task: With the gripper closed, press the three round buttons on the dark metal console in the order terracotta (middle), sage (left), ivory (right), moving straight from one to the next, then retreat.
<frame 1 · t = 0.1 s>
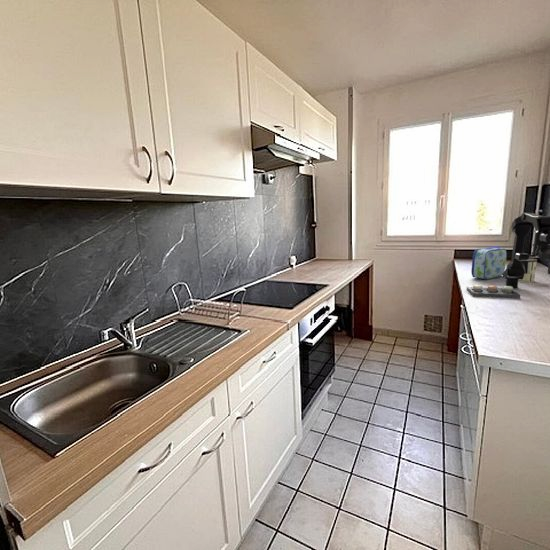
hand: (537, 274, 152), 15 cm above the worktop, fingers open, 9 cm apart
button terracotta: (492, 289, 168), point 4 cm above the worktop, slide at 0.0 cm
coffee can: (523, 281, 199), on the worktop
button ivory: (477, 288, 170), point 4 cm above the worktop, slide at 0.0 cm
console: (491, 295, 169), on the worktop
lunch box: (487, 277, 212), on the worktop
button sage: (507, 289, 166), point 4 cm above the worktop, slide at 0.0 cm
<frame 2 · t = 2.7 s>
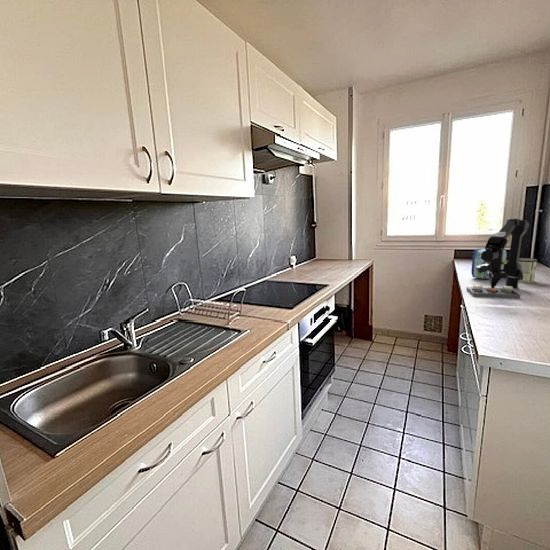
hand: (492, 287, 168), 5 cm above the worktop, fingers closed, pressing on button terracotta
button terracotta: (492, 290, 168), point 3 cm above the worktop, slide at 0.8 cm, touching gripper
everything else where it was.
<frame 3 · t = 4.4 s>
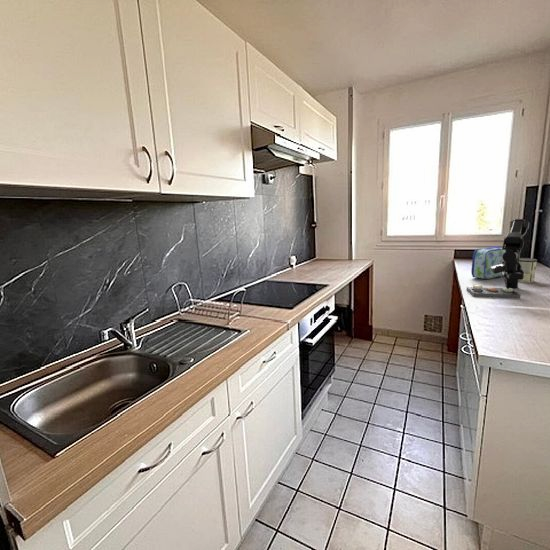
hand: (507, 288, 166), 4 cm above the worktop, fingers closed, pressing on button sage
button terracotta: (492, 291, 168), point 3 cm above the worktop, slide at 1.0 cm
button sage: (507, 291, 166), point 3 cm above the worktop, slide at 0.9 cm, touching gripper
everything else where it was.
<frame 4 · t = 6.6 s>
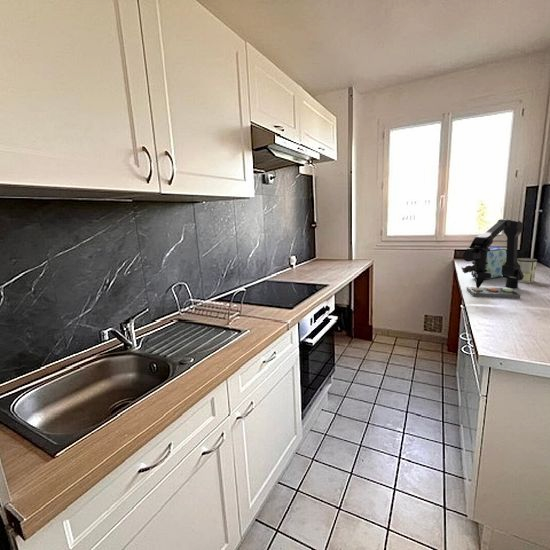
hand: (477, 287, 170), 4 cm above the worktop, fingers closed, pressing on button ivory
button ivory: (477, 290, 170), point 3 cm above the worktop, slide at 1.0 cm, touching gripper
button sage: (507, 291, 166), point 3 cm above the worktop, slide at 1.0 cm
everything else where it was.
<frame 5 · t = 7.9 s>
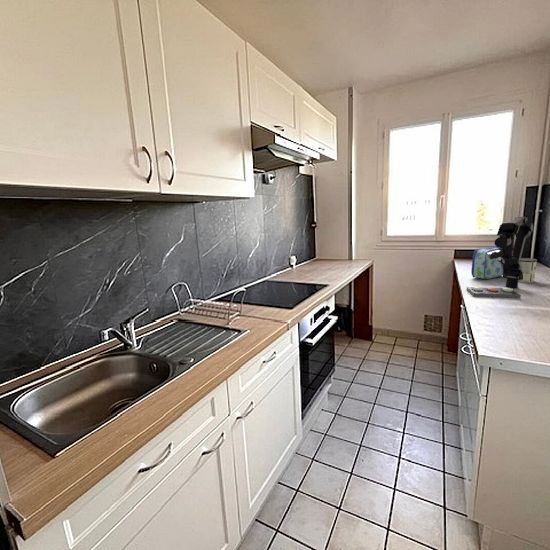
hand: (504, 273, 170), 11 cm above the worktop, fingers closed
button ivory: (477, 290, 170), point 3 cm above the worktop, slide at 1.0 cm
everything else where it was.
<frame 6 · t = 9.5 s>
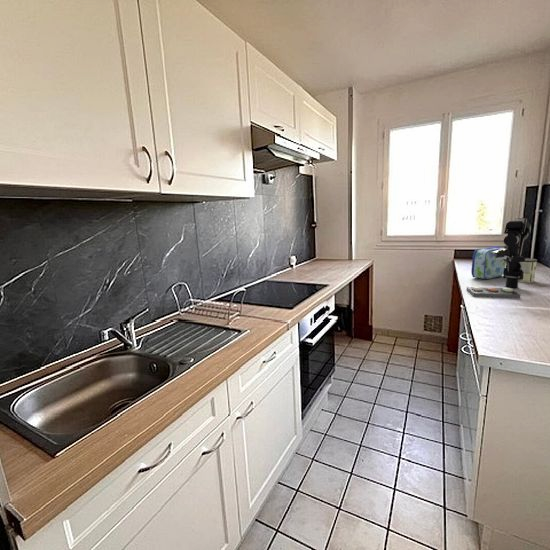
hand: (509, 272, 170), 12 cm above the worktop, fingers closed
nothing on the worktop moved.
at the end: button terracotta slide at 1.0 cm; button sage slide at 1.0 cm; button ivory slide at 1.0 cm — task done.
